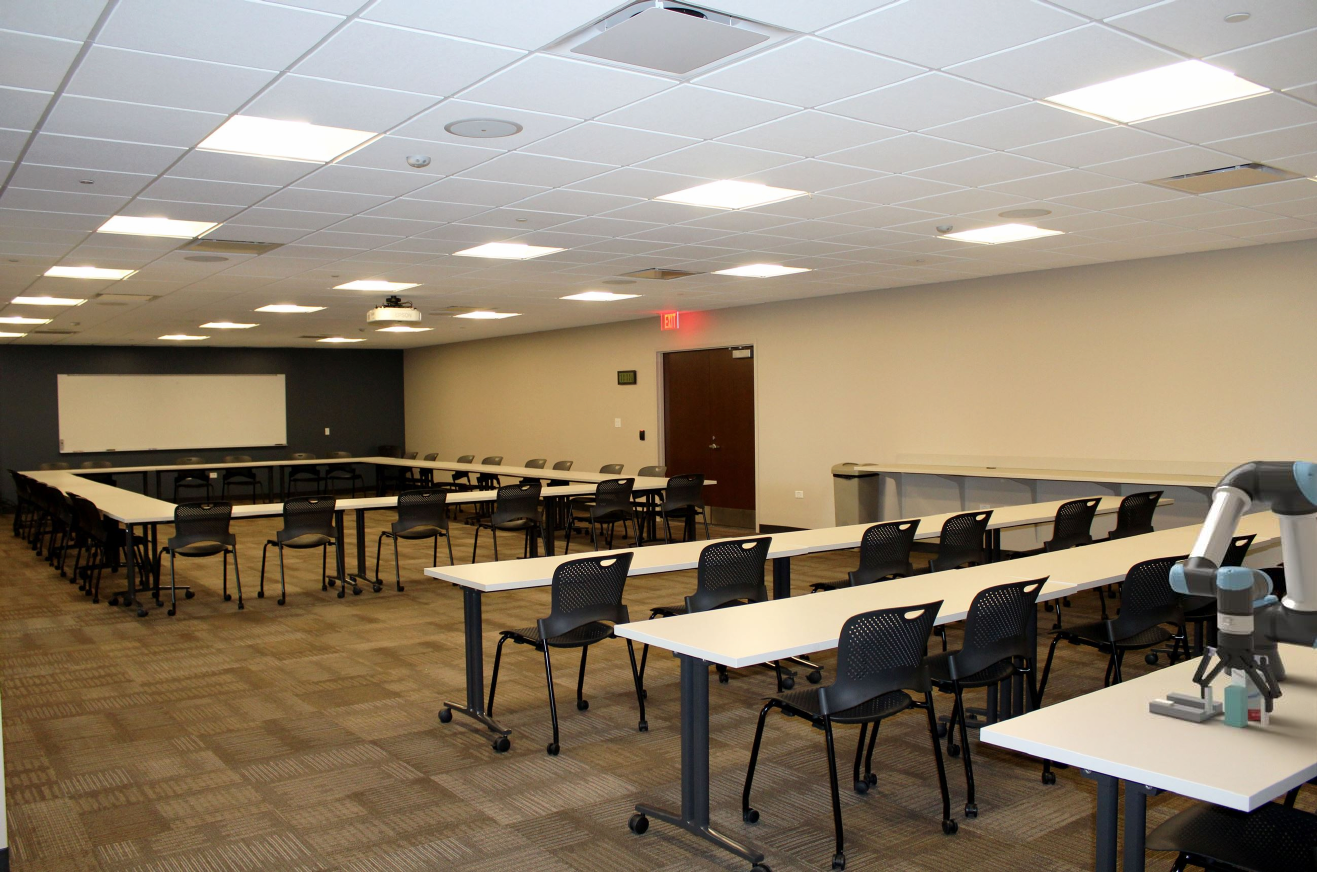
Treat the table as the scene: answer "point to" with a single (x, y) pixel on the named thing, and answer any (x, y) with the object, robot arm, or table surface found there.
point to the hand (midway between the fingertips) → (1236, 718)
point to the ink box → (1249, 692)
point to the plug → (1236, 706)
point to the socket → (1184, 707)
